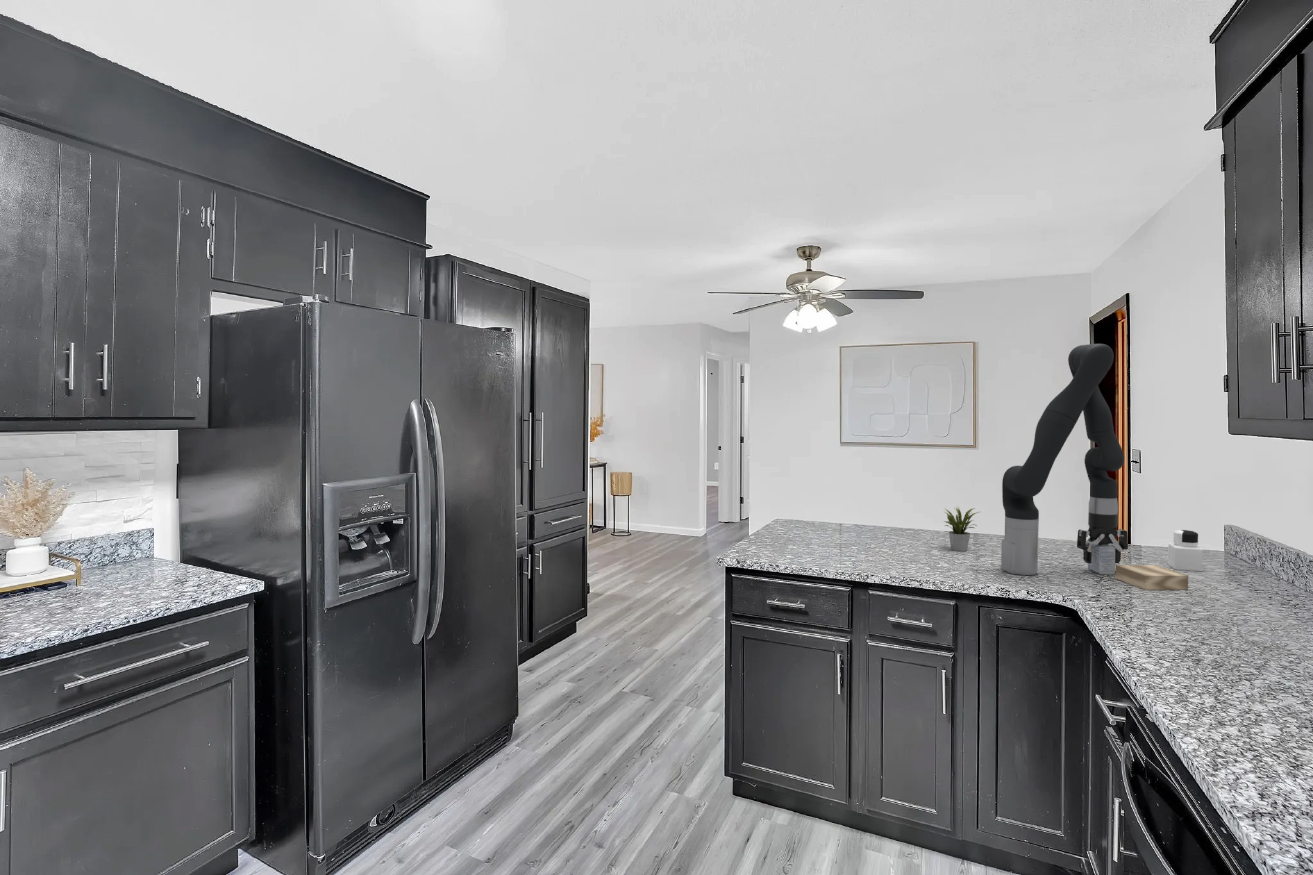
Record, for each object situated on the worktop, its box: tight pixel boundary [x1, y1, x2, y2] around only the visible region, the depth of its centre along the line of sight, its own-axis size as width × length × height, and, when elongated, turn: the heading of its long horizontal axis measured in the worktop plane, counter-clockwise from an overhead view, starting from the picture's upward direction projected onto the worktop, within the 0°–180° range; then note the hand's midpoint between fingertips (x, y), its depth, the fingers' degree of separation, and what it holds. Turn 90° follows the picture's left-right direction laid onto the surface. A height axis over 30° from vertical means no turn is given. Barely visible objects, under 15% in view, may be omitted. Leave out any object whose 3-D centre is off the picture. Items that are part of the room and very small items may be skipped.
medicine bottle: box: [1167, 529, 1204, 572], centre depth 205 cm, size 7×7×12 cm
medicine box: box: [1087, 544, 1116, 576], centre depth 202 cm, size 8×4×9 cm, turn 168°
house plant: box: [943, 506, 980, 552], centre depth 233 cm, size 14×14×16 cm
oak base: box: [1115, 564, 1189, 591], centre depth 188 cm, size 12×12×4 cm
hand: (1101, 562), depth 202 cm, fingers open, 8 cm apart
